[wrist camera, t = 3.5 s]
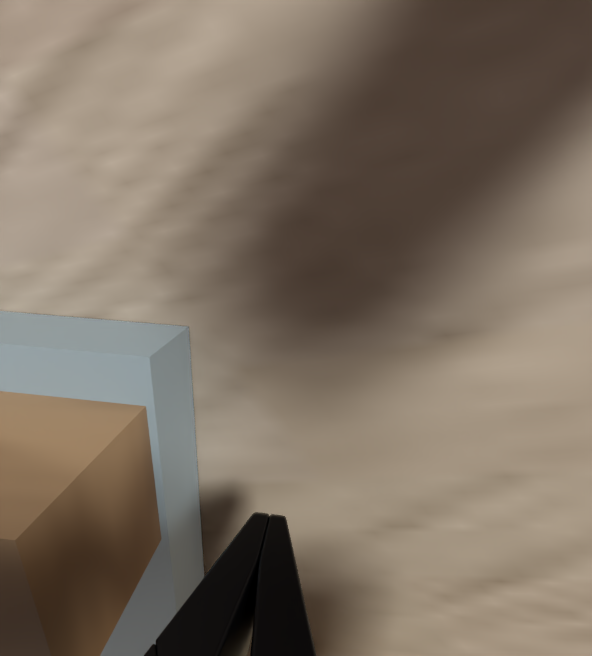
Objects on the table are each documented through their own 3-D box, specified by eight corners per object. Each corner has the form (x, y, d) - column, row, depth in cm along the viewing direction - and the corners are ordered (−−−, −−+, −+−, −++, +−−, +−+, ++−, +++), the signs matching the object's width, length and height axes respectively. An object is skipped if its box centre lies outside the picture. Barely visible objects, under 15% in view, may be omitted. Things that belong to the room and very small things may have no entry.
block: (161, 539, 11) (69, 713, 7) (19, 519, 11) (-140, 673, 7) (145, 406, 9) (14, 540, 5) (-20, 389, 10) (-250, 502, 6)
